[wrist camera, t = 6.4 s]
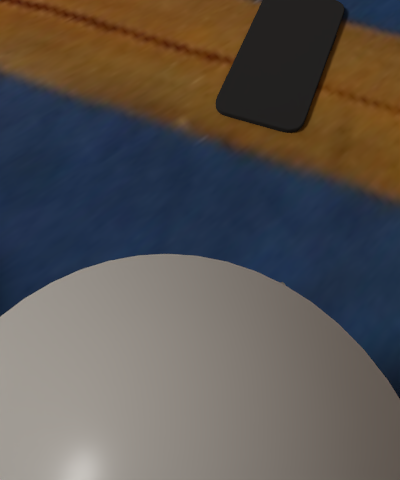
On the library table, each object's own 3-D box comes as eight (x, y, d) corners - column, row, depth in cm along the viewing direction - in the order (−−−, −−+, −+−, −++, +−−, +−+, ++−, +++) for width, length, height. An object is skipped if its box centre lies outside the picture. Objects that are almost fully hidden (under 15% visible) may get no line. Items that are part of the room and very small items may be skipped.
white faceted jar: (306, 345, 15) (436, 287, 6) (294, 587, 12) (517, 1218, 3) (122, 317, 15) (-13, 228, 7) (71, 537, 13) (-285, 901, 4)
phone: (210, 108, 29) (268, -14, 33) (210, 115, 29) (267, -5, 34) (300, 133, 27) (348, 2, 32) (298, 140, 28) (345, 11, 33)
